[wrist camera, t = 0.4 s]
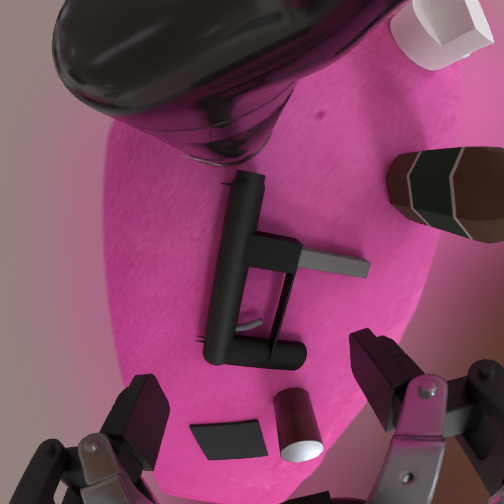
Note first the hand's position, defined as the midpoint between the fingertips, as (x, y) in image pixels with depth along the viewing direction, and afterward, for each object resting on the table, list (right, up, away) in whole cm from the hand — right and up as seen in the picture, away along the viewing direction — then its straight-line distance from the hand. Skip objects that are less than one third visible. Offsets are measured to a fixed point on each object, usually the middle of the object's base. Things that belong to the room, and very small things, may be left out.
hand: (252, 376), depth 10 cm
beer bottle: (+18, +12, +16) cm, 27 cm away
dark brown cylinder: (+5, -15, +22) cm, 27 cm away
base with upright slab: (+21, +32, +11) cm, 40 cm away
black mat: (-3, -24, +24) cm, 34 cm away
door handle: (+3, +2, +18) cm, 18 cm away
